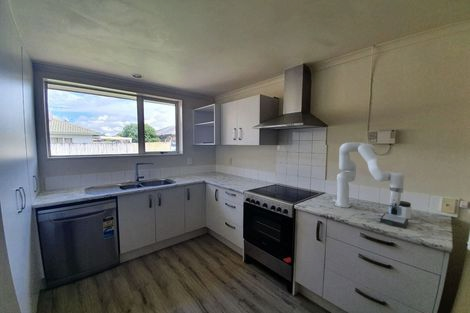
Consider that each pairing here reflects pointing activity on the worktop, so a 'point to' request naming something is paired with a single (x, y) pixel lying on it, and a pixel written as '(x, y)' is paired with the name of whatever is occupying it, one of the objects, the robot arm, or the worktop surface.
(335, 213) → the worktop surface
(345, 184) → the robot arm
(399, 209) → the bowl
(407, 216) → the jar
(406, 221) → the scale
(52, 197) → the worktop surface
